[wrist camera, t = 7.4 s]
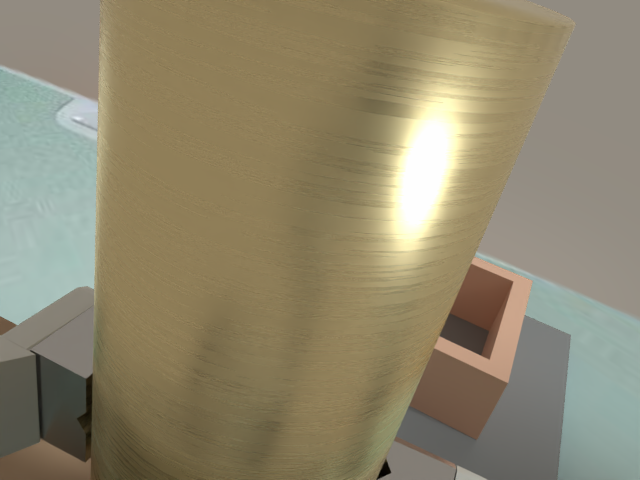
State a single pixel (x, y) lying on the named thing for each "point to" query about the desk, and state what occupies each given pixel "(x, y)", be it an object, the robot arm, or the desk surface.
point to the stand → (493, 383)
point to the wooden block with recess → (41, 456)
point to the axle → (292, 220)
